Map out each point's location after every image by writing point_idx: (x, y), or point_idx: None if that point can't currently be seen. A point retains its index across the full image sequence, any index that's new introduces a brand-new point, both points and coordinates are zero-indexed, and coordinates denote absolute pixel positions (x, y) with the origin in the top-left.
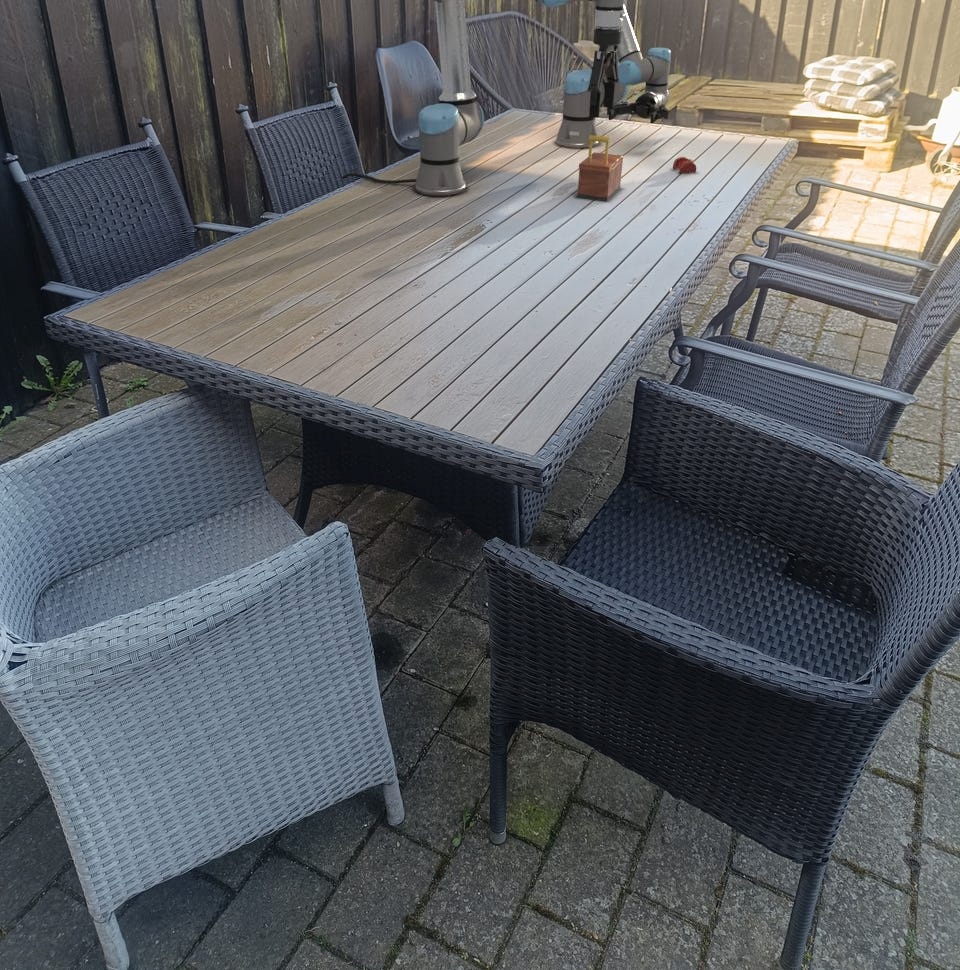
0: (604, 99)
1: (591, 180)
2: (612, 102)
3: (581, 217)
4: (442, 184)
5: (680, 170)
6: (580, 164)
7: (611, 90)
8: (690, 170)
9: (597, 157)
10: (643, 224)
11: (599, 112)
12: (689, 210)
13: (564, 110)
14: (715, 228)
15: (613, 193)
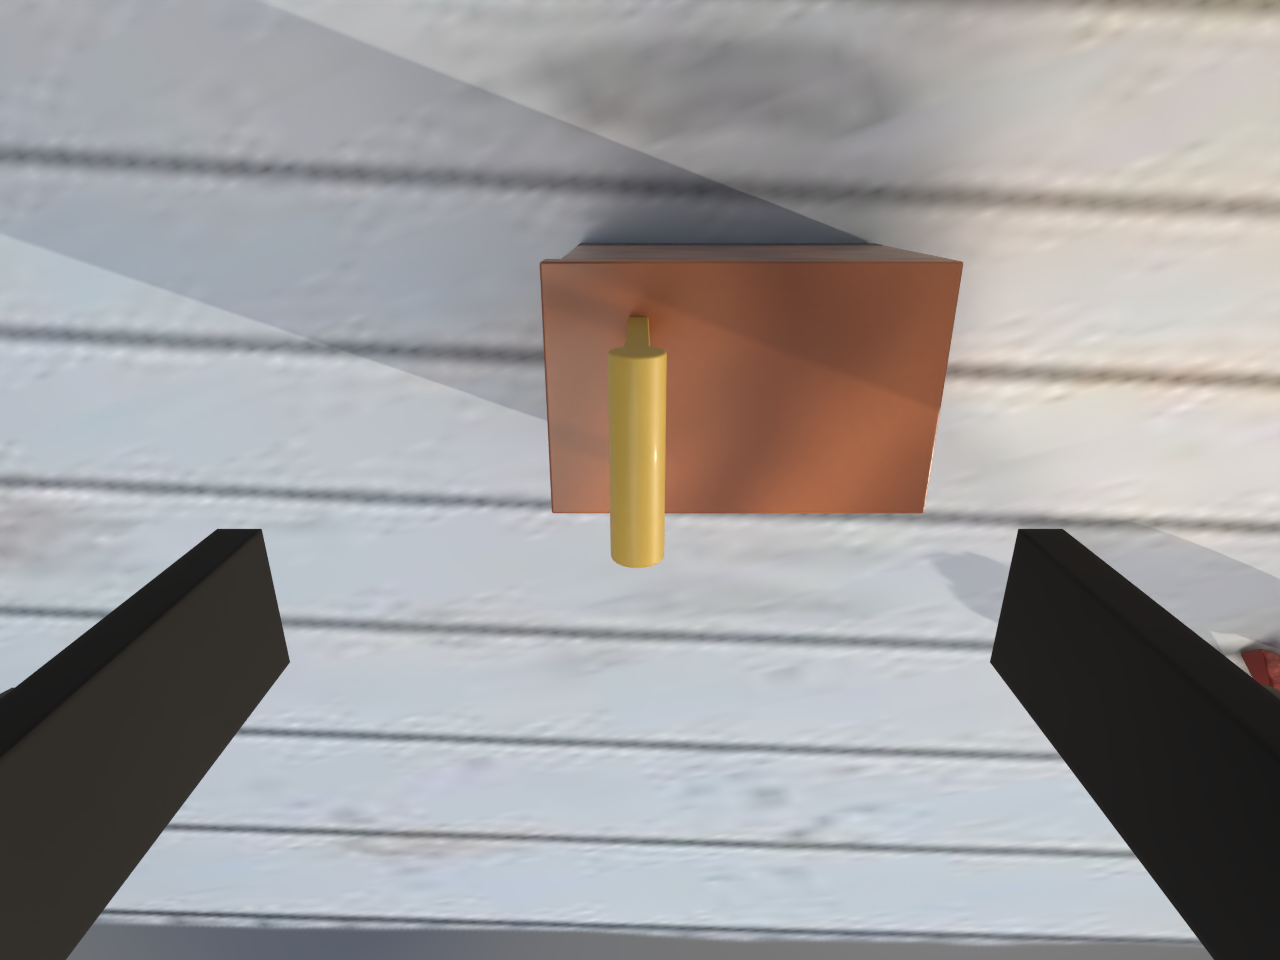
0: (1087, 593)
1: None
2: (1029, 705)
3: (245, 390)
4: None
5: (1252, 664)
6: (541, 275)
7: (1173, 836)
8: None
9: (799, 346)
10: (327, 682)
11: (251, 706)
12: (623, 798)
13: None
14: (441, 910)
15: None
